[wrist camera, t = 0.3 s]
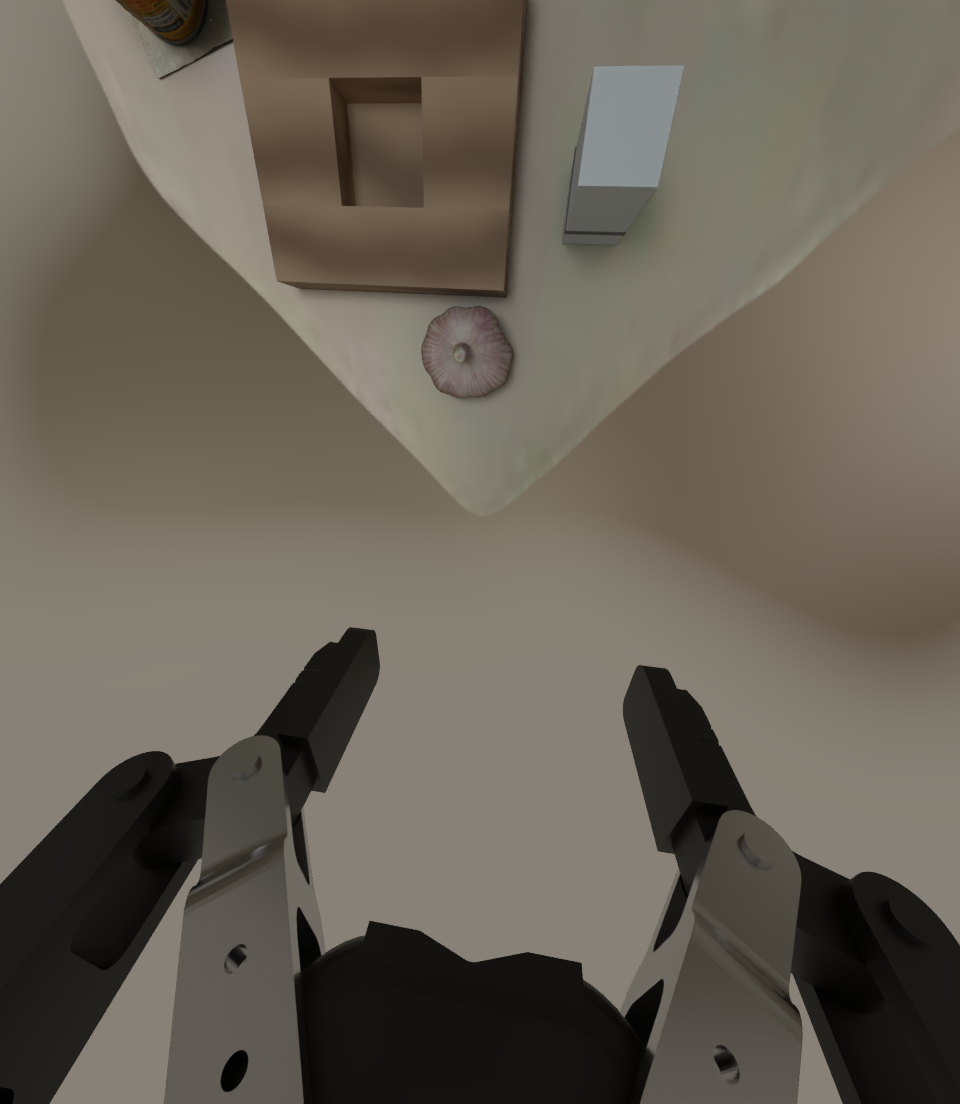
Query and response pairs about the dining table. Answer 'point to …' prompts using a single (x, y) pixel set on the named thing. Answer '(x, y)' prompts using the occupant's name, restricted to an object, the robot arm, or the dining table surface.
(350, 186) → the board
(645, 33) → the dining table surface
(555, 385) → the dining table surface
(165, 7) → the condiment
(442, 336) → the garlic bulb
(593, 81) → the peg
